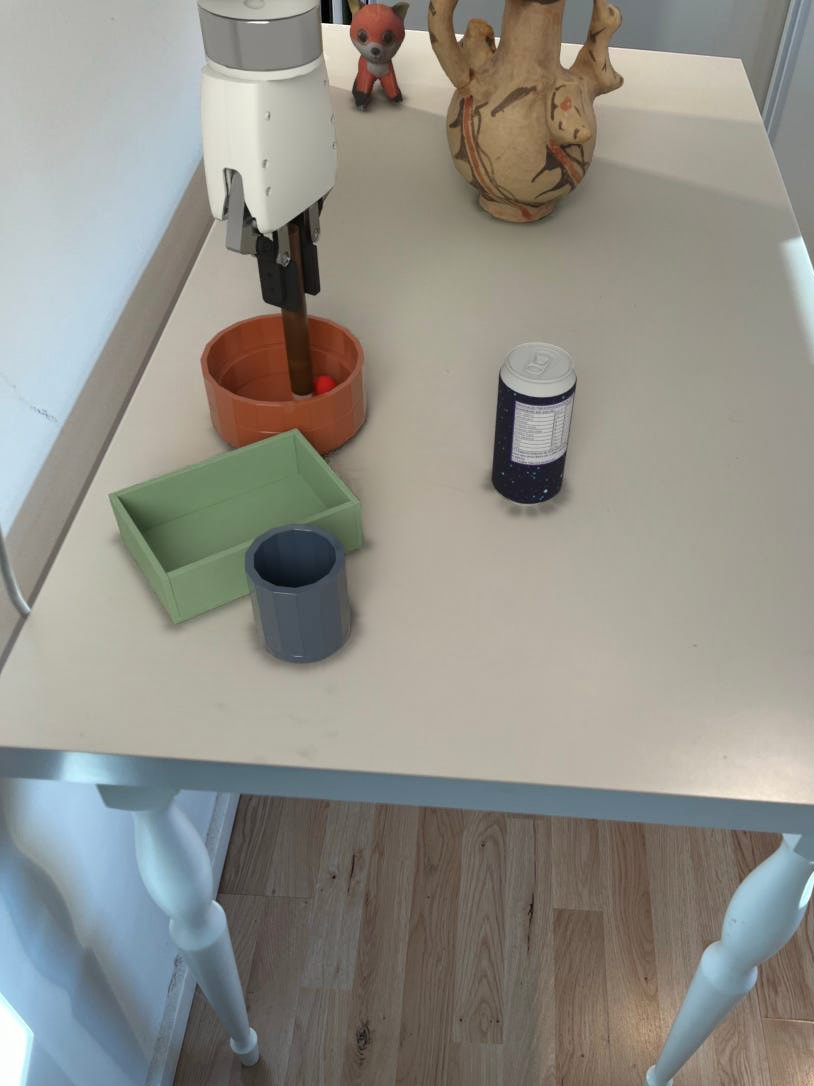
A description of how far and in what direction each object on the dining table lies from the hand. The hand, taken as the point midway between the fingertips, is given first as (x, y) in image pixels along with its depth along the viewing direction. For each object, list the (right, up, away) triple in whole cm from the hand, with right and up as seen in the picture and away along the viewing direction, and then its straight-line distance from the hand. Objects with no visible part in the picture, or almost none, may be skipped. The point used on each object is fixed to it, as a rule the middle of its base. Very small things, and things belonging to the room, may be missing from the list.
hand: (292, 296), depth 76 cm
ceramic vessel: (+20, +22, +34) cm, 45 cm away
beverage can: (+18, -15, +3) cm, 24 cm away
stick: (0, -6, +7) cm, 9 cm away
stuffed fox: (+2, +44, +52) cm, 69 cm away
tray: (-3, -19, -2) cm, 20 cm away
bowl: (-2, -8, +8) cm, 11 cm away
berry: (+1, -5, +8) cm, 9 cm away
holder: (+2, -26, -7) cm, 27 cm away
